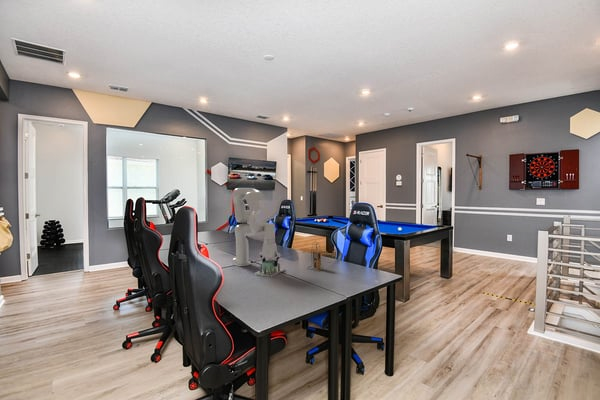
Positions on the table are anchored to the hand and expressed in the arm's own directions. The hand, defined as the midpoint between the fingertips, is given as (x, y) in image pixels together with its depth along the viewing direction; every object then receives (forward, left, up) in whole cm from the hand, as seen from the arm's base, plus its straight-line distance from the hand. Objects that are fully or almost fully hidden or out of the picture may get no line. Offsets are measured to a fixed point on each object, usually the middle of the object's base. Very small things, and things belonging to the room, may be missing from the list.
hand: (269, 265), depth 204 cm
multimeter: (+24, +20, -5) cm, 32 cm away
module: (0, 0, -2) cm, 2 cm away
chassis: (0, 0, -5) cm, 5 cm away
